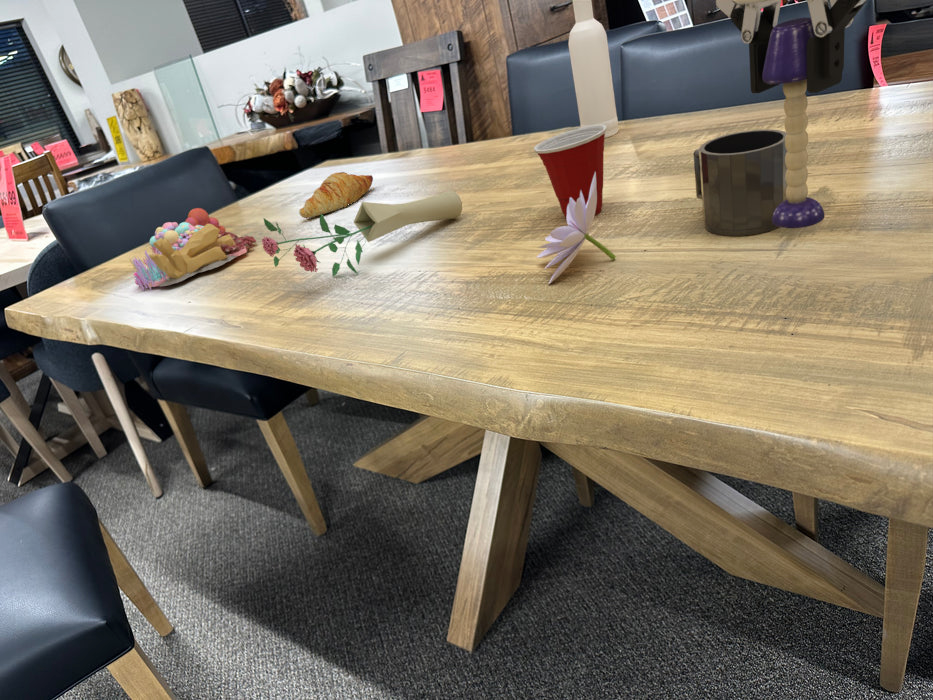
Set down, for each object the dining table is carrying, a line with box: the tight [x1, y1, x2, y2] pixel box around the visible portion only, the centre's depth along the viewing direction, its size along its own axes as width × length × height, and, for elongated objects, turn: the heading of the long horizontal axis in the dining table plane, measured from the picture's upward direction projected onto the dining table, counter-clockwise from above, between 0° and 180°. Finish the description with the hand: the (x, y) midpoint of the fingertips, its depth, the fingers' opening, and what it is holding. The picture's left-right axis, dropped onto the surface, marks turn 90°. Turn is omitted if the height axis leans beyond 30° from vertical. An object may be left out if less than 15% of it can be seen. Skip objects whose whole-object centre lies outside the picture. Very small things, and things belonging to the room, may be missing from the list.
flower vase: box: [261, 190, 463, 277], centre depth 101 cm, size 12×12×35 cm
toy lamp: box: [762, 17, 826, 230], centre depth 54 cm, size 5×5×17 cm
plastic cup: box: [533, 125, 607, 218], centre depth 95 cm, size 11×11×12 cm
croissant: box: [298, 171, 374, 219], centre depth 141 cm, size 21×10×8 cm, turn 141°
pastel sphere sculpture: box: [129, 207, 257, 291], centre depth 125 cm, size 25×24×9 cm
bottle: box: [568, 0, 620, 139], centre depth 133 cm, size 8×8×30 cm
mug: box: [692, 128, 788, 237], centre depth 79 cm, size 13×10×10 cm
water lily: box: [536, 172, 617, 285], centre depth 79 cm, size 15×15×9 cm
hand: (794, 85), depth 52 cm, fingers closed on toy lamp, 4 cm apart
